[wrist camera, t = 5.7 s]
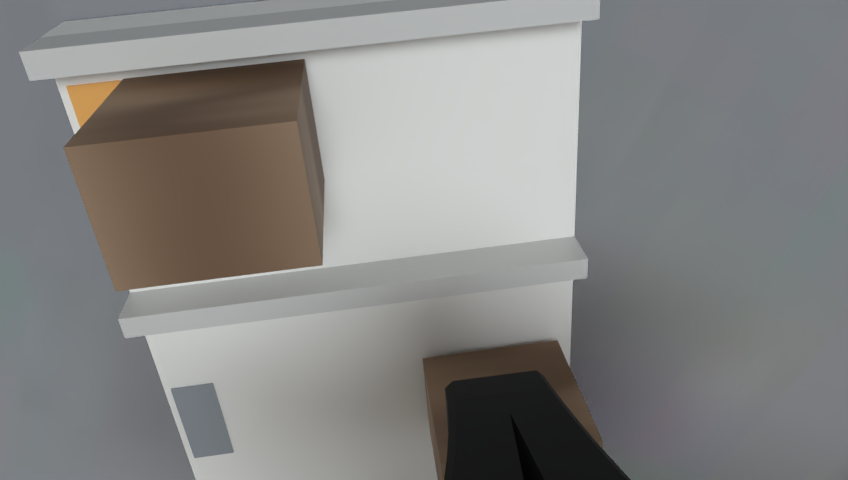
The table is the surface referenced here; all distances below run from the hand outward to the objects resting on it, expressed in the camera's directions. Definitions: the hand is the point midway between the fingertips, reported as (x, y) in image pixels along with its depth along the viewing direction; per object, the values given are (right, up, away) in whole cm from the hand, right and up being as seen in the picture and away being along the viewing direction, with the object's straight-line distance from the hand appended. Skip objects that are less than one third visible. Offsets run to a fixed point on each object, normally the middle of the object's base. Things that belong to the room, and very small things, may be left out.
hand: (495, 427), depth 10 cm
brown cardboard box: (-6, +5, +6) cm, 10 cm away
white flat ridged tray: (-3, -1, +12) cm, 13 cm away
